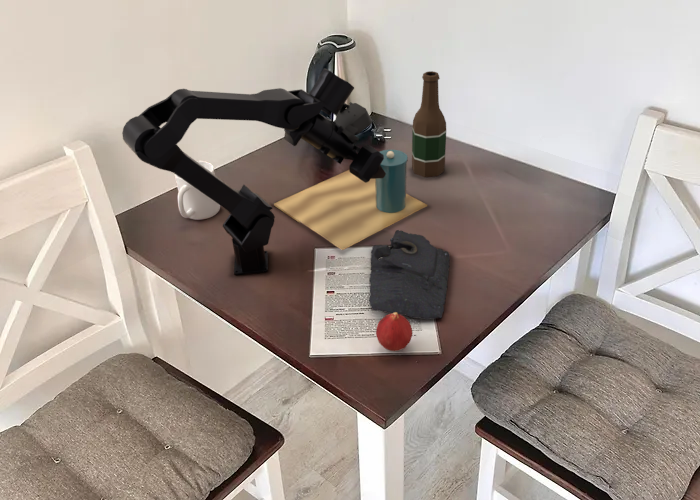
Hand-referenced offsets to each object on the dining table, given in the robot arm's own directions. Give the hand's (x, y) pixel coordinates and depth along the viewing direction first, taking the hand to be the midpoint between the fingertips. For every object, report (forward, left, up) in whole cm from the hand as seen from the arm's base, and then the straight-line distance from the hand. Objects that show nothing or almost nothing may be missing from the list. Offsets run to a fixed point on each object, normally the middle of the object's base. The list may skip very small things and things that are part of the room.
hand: (370, 166), depth 135 cm
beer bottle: (+16, -15, -12) cm, 25 cm away
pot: (+2, -4, -11) cm, 12 cm away
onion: (-41, +2, -12) cm, 42 cm away
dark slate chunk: (-24, -3, -12) cm, 27 cm away
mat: (+4, +4, -12) cm, 13 cm away
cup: (+6, +38, -12) cm, 40 cm away
